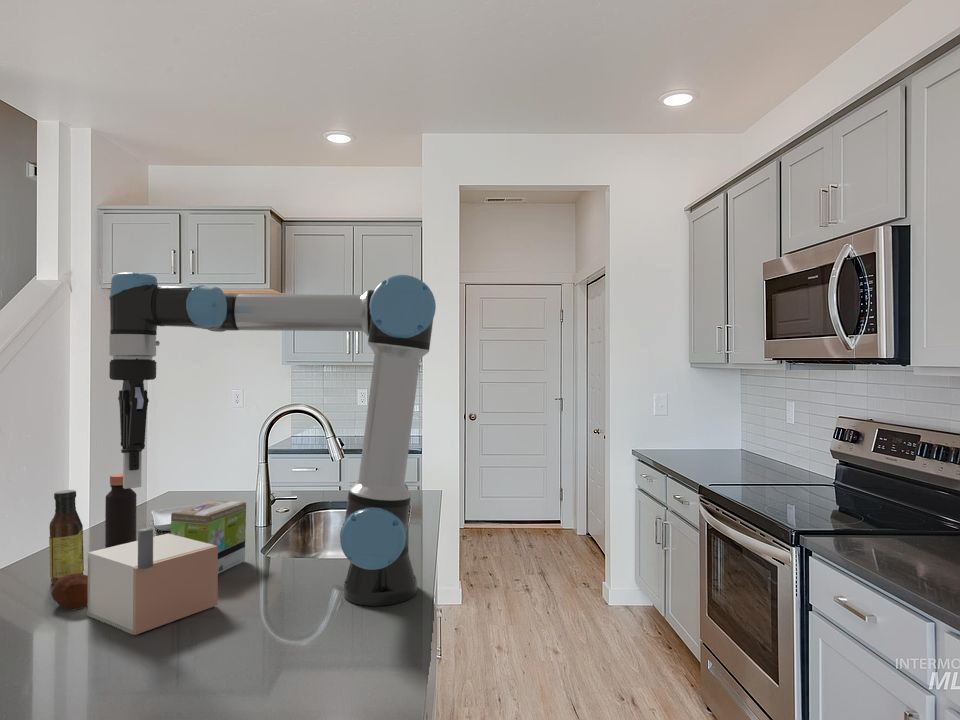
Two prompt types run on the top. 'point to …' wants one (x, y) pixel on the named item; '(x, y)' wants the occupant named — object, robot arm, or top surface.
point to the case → (125, 576)
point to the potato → (71, 591)
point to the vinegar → (120, 513)
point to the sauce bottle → (65, 537)
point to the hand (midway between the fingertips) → (132, 487)
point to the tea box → (215, 528)
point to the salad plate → (165, 517)
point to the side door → (172, 584)
